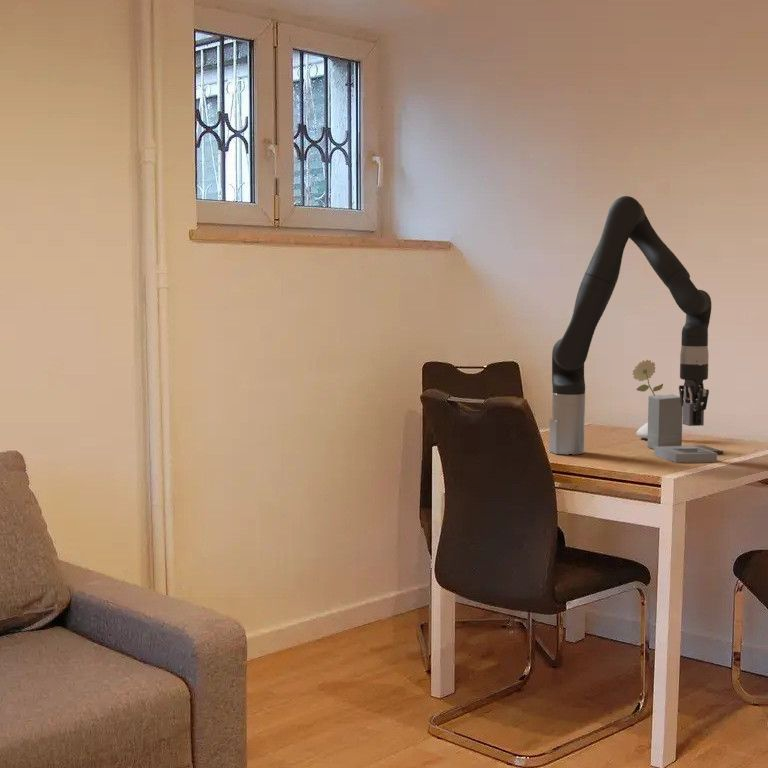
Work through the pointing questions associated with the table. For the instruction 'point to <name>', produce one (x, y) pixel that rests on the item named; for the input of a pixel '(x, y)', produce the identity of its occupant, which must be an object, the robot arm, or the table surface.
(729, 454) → the table surface
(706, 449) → the phone
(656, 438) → the skincare box
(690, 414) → the block
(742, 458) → the table surface
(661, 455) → the outlet plate
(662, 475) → the table surface
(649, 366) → the flower in vase
